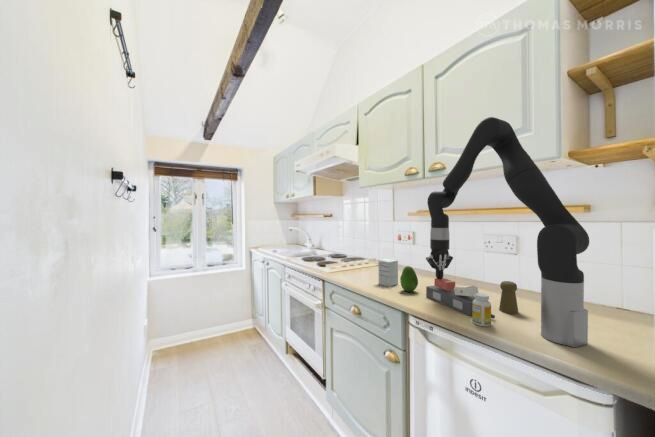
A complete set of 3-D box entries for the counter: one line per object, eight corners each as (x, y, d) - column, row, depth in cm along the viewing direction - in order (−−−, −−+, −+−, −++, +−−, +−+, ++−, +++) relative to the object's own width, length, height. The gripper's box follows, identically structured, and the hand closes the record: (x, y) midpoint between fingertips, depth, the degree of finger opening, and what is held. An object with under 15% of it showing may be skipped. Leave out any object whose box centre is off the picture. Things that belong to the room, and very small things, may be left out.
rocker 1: (455, 289, 109) (455, 281, 109) (446, 290, 107) (446, 282, 107) (443, 284, 116) (443, 277, 116) (434, 285, 114) (434, 278, 114)
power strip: (502, 318, 92) (502, 305, 92) (484, 322, 89) (484, 308, 89) (441, 295, 119) (441, 284, 119) (426, 296, 116) (426, 286, 116)
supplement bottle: (473, 325, 87) (473, 296, 86) (471, 319, 91) (471, 291, 91) (492, 328, 84) (492, 297, 84) (489, 321, 89) (489, 293, 89)
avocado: (397, 291, 124) (397, 266, 124) (404, 288, 130) (404, 263, 130) (414, 295, 119) (414, 268, 119) (420, 291, 125) (420, 265, 125)
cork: (499, 312, 98) (499, 282, 97) (498, 307, 103) (498, 279, 103) (519, 315, 95) (520, 284, 95) (517, 309, 100) (517, 280, 100)
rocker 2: (479, 294, 98) (477, 286, 99) (469, 296, 97) (467, 287, 97) (464, 293, 105) (462, 285, 105) (454, 294, 103) (453, 286, 104)
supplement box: (386, 281, 144) (386, 258, 143) (398, 284, 138) (398, 260, 138) (378, 284, 139) (377, 259, 139) (389, 286, 133) (389, 261, 133)
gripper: (433, 239, 108) (433, 282, 109) (458, 238, 112) (458, 279, 113) (421, 238, 115) (421, 277, 116) (445, 237, 120) (445, 275, 120)
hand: (439, 278), depth 114 cm, fingers closed
